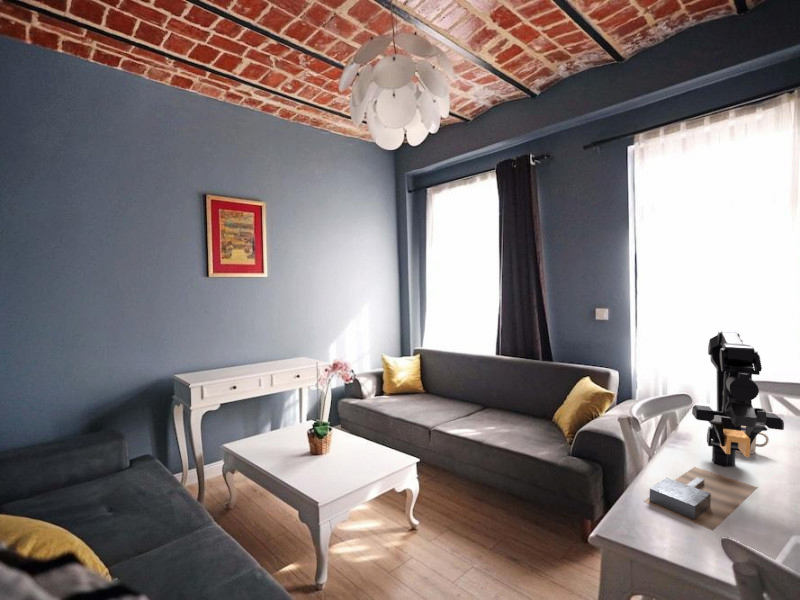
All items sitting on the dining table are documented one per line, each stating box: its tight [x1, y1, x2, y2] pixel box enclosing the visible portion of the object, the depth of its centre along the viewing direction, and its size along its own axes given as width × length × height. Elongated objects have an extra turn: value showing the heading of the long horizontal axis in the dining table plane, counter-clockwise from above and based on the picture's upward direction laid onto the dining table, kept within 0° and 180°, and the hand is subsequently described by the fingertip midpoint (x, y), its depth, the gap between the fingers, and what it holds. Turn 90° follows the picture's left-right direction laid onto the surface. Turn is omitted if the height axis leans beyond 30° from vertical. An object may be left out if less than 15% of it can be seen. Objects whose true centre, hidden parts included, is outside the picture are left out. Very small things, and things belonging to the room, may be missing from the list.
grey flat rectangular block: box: [649, 477, 711, 520], centre depth 108 cm, size 22×10×4 cm, turn 125°
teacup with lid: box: [736, 426, 770, 455], centre depth 140 cm, size 12×9×12 cm
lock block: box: [720, 429, 751, 458], centre depth 112 cm, size 6×5×5 cm
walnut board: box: [643, 466, 759, 531], centre depth 110 cm, size 33×15×1 cm, turn 125°
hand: (734, 447), depth 112 cm, fingers closed on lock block, 5 cm apart
